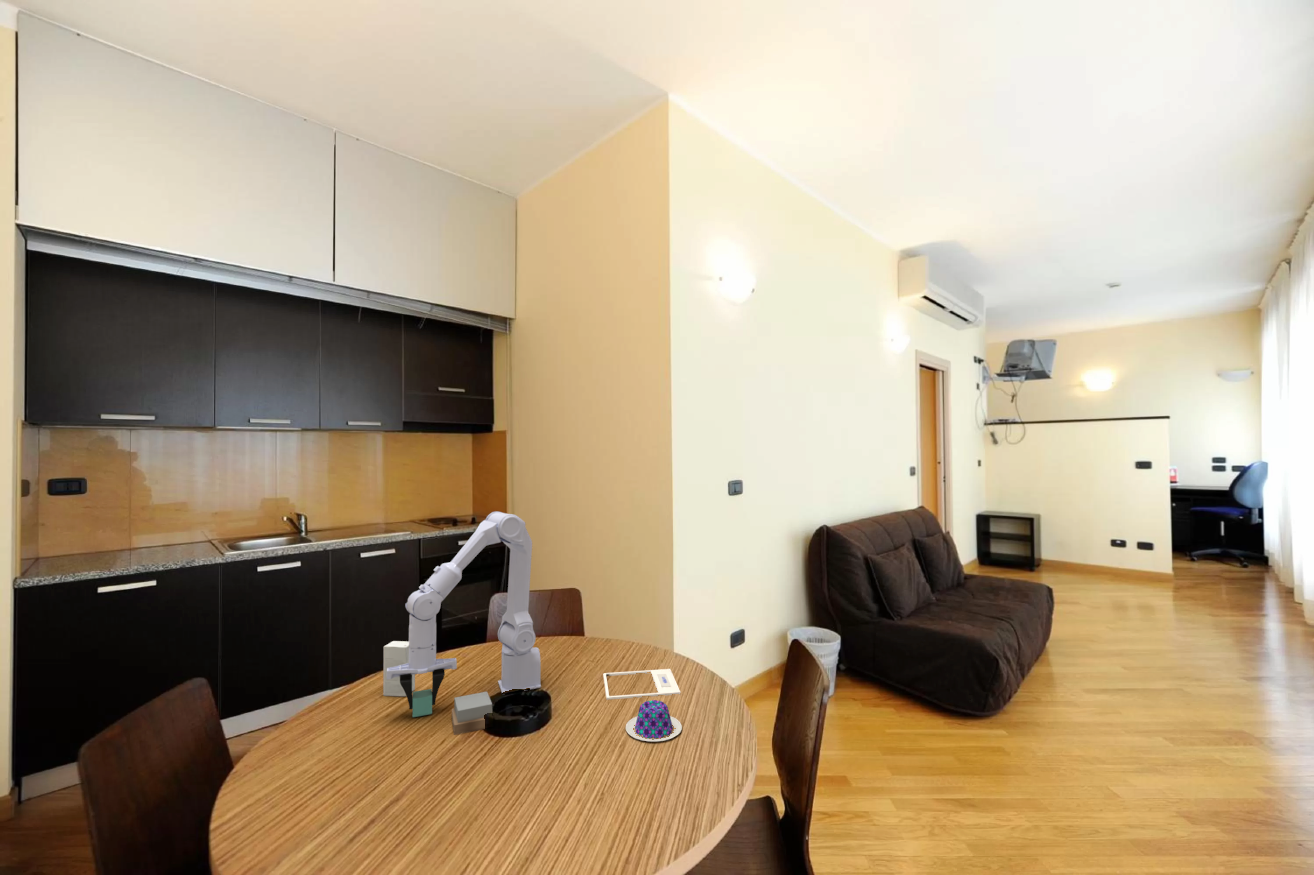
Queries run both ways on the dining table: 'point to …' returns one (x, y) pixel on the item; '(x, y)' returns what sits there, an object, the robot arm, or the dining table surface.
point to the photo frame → (661, 678)
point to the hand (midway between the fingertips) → (422, 705)
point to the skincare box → (394, 656)
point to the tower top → (472, 706)
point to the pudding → (653, 722)
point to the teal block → (422, 702)
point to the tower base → (466, 724)
